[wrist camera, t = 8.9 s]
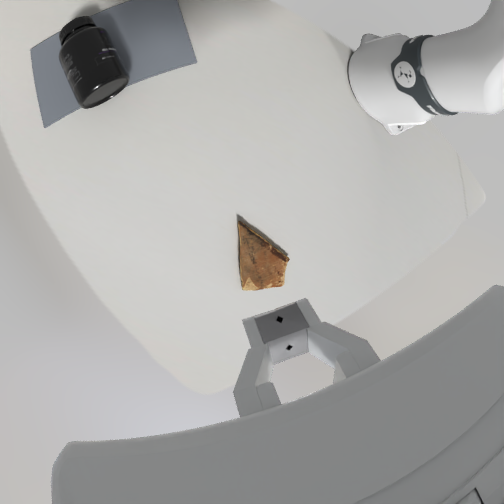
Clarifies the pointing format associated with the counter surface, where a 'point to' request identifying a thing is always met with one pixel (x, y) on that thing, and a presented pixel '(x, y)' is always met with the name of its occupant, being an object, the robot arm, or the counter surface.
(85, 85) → the supplement bottle
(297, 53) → the counter surface
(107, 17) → the mat
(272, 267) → the shard
